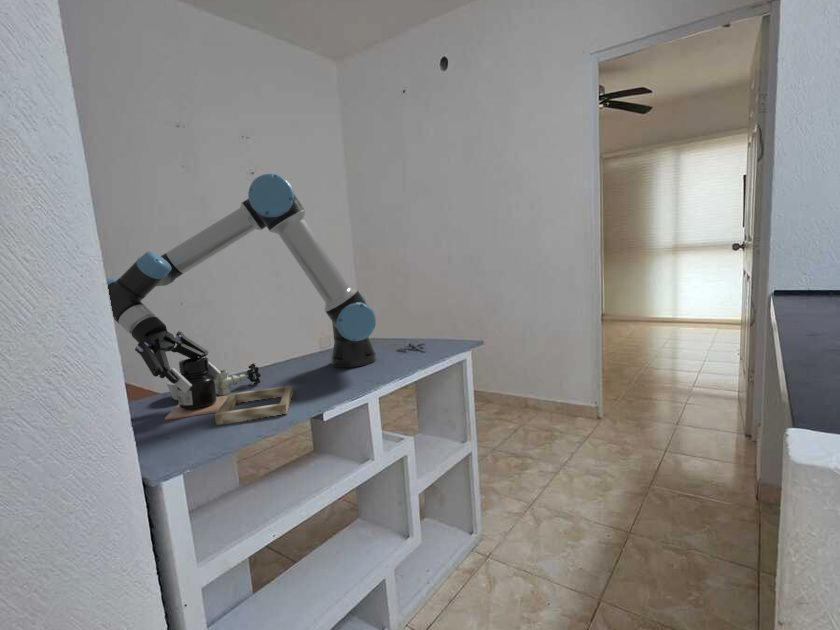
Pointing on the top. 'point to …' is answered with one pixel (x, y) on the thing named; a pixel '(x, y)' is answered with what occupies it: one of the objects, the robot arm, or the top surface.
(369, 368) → the top surface
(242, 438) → the top surface
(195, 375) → the ink bottle
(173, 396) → the ramekin
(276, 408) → the birch collar
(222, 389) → the valve
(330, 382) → the top surface
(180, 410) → the terracotta tile
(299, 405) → the top surface
